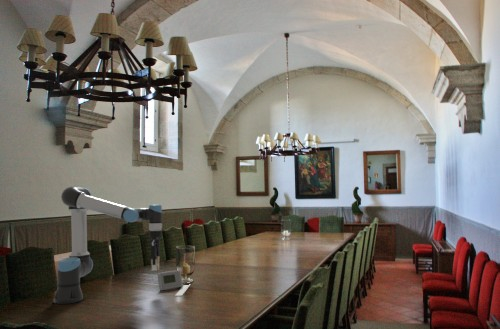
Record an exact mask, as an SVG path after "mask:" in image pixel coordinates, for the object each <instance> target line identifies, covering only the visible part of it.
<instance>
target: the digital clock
mask: <svg viewBox="0 0 500 329" xmlns="http://www.w3.org/2000/svg"><path fill="white" fill-rule="evenodd" d="M157 281H158V282H157V283H158V288H159V290H160V291H169V290H175V289H179V288H182V287H183V285H184V284H183V280H182V274H181V270H180V269H178V270H177V269H176V270H175V269H174V270H169V271H162V272H158V273H157Z"/></svg>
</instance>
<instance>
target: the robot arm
mask: <svg viewBox="0 0 500 329" xmlns="http://www.w3.org/2000/svg"><path fill="white" fill-rule="evenodd" d="M60 197H61V201H62V202H63V204H64V205H65V206H67V207H68V211H69V212H70V213H71V215H70V218H71V219H70V220H71V224H70V225H71V253H70V254H69V255H68V257H65V258H62V259H60V260H59V261H58V262H57V289H56V291H55V295H54V296H53V303H54V304H56V303H57V305H58V304H59V305H66V304H67V305H68V304H74V303H78V302H81V301H83V300H84V294H83V292H82V289H81V278H83V277H85V276H87V275H88V274H89V273H91V272H92V270H93V268H94V267H93V266H94V261H93V259H92V258H91V253H90V252H89V251H88V227H87V226H88V224H87V222H88V220H87V216H88V215H87V211H88V210H89V211H93V212H97V213H100V214H103V215H107V216H110V217H114V218H117V219H121V220H123V221H126V222H128V223H135V222H141V221H148V230H149V231H148V237H149V238H152V239H151V241H150V260H151V259H152V270H157V259H156V254H157V256H159V259H160V258H161V254H160V253H161V252H160V251H161V248H160V247H161V240H160V239H159V238H161V237H162V236H163V231H162V229H163V225H164V224H162V223H163V221H162V220H163V211H162V210H163V208H162V205H161V204H149V205H148V207H133V208H132V207H129V206H126V205H122V204H118V203H115V202H111V201H108V200H105V199H102V198H98V197H95V196H92V193H91V191H90V190H89V189H88V188H86V187H83V186H82V187H81V186H70V187H66V188H65V189H64V190H63V191H62V193H61V196H60Z"/></svg>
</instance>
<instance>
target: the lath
mask: <svg viewBox="0 0 500 329" xmlns="http://www.w3.org/2000/svg"><path fill="white" fill-rule="evenodd" d="M182 285H183V286H182V287H180V289H179V290H178V291H177V292H176V294H175V295H174V297H182V296H184V294H185V293H186V291H188V289H189V287H191V285H192V284H189V285H184V284H182Z"/></svg>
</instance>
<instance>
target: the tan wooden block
mask: <svg viewBox="0 0 500 329" xmlns="http://www.w3.org/2000/svg"><path fill="white" fill-rule="evenodd" d="M156 259H157V270H152V259H150V271H151V272H154V271H155V272H156V271H157V272H158V271H159V270H160V258H159V256H157V254H156Z"/></svg>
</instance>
